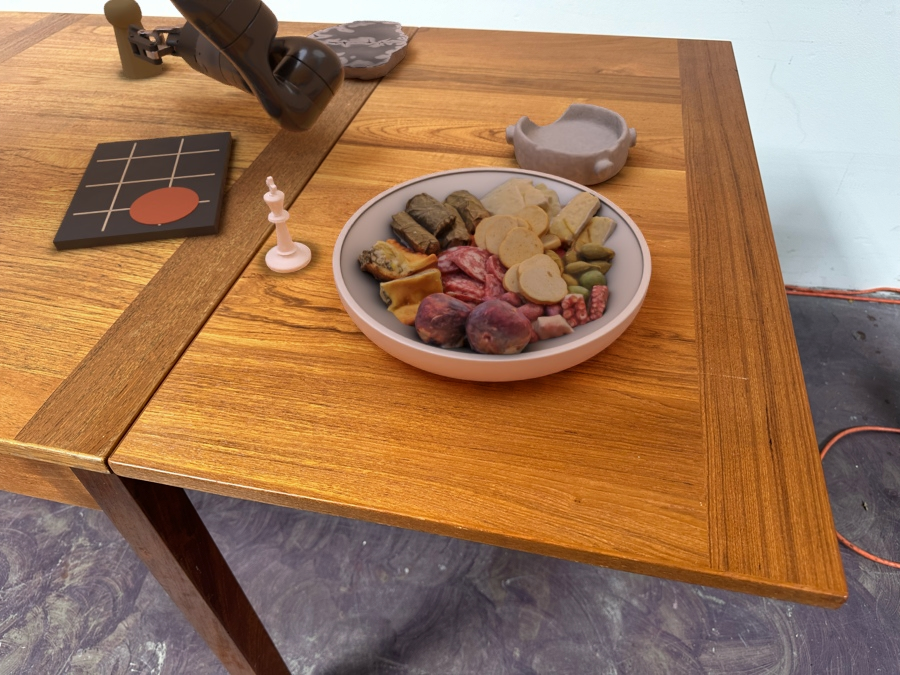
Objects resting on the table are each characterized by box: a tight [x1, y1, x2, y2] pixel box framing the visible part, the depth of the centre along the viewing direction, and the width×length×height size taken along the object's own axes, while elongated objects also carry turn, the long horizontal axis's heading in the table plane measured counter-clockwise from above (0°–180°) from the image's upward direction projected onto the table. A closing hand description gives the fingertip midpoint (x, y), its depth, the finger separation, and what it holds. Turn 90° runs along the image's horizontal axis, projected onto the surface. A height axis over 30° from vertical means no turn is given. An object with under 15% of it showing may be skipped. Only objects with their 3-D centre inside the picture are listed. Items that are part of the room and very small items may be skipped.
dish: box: [504, 102, 638, 186], centre depth 82 cm, size 14×14×5 cm
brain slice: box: [305, 20, 410, 81], centre depth 107 cm, size 20×17×3 cm
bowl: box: [331, 166, 652, 383], centre depth 64 cm, size 30×30×8 cm
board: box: [52, 131, 233, 252], centre depth 80 cm, size 17×22×2 cm
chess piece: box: [263, 175, 312, 274], centre depth 67 cm, size 5×5×10 cm
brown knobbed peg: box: [103, 0, 163, 80], centre depth 102 cm, size 6×6×11 cm
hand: (160, 23), depth 94 cm, fingers open, 8 cm apart
